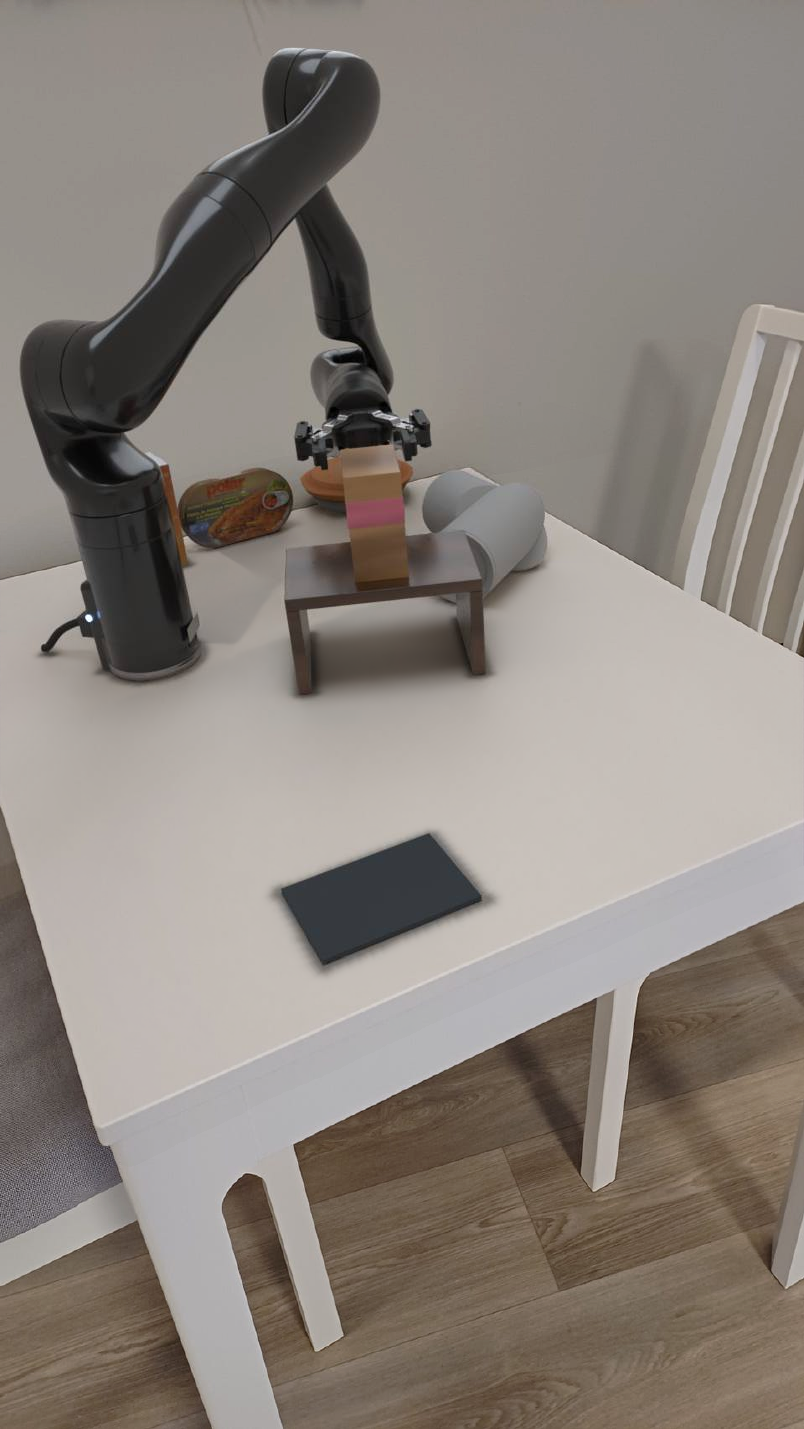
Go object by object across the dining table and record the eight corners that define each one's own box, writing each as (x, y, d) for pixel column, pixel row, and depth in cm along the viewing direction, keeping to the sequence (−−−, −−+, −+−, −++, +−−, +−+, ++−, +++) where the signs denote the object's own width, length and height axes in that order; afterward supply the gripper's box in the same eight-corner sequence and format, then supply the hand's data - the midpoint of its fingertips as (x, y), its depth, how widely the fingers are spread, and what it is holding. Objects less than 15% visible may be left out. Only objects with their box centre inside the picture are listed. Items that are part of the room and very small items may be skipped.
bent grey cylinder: (598, 561, 111) (493, 512, 126) (584, 477, 105) (475, 436, 120) (473, 639, 107) (379, 579, 121) (451, 556, 100) (354, 503, 115)
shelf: (486, 674, 95) (482, 578, 90) (299, 695, 95) (284, 600, 89) (468, 618, 105) (464, 529, 100) (299, 636, 105) (285, 548, 99)
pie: (372, 473, 147) (369, 439, 144) (437, 498, 136) (435, 462, 133) (283, 501, 140) (278, 467, 137) (344, 530, 129) (340, 493, 126)
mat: (323, 964, 65) (322, 960, 65) (281, 892, 71) (280, 888, 71) (482, 899, 69) (481, 895, 69) (429, 836, 75) (429, 832, 75)
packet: (409, 577, 91) (401, 471, 86) (354, 583, 91) (342, 478, 86) (402, 543, 98) (393, 444, 93) (350, 549, 98) (339, 449, 92)
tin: (189, 555, 126) (175, 491, 121) (181, 547, 128) (168, 484, 124) (298, 526, 131) (289, 464, 127) (289, 519, 133) (280, 458, 129)
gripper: (291, 385, 111) (290, 426, 97) (417, 371, 111) (434, 411, 98) (300, 450, 115) (300, 499, 101) (422, 437, 115) (438, 484, 102)
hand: (366, 456), depth 100 cm, fingers open, 8 cm apart
